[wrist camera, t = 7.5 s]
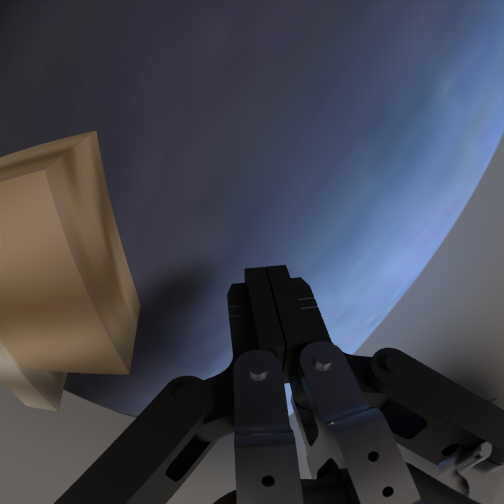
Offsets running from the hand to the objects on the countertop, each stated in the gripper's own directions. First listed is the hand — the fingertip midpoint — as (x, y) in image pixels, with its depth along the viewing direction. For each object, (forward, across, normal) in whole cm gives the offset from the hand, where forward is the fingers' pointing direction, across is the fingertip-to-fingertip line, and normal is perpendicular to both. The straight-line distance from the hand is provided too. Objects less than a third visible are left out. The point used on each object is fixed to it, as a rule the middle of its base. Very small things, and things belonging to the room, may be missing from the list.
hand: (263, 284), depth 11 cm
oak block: (+4, +10, 0) cm, 11 cm away
